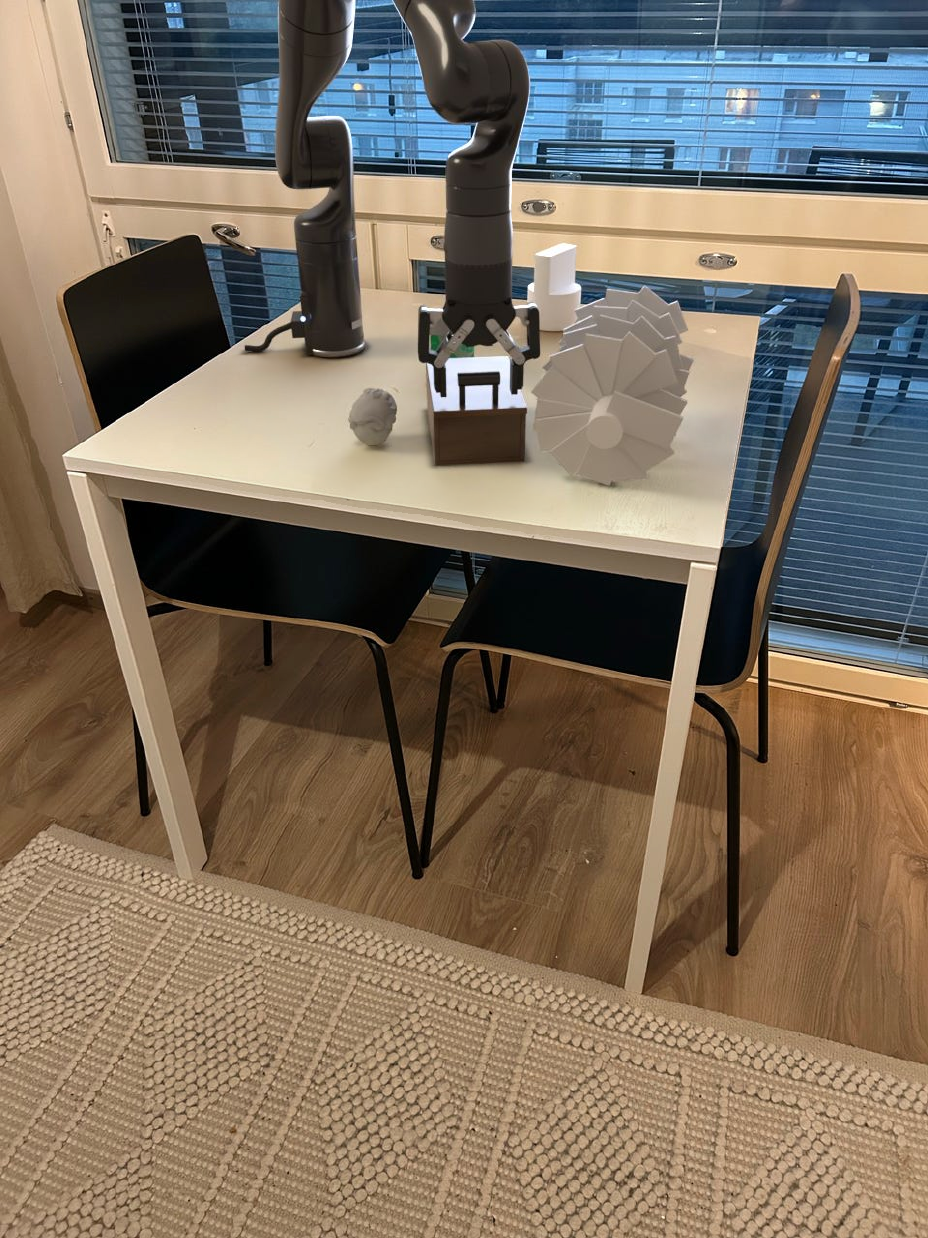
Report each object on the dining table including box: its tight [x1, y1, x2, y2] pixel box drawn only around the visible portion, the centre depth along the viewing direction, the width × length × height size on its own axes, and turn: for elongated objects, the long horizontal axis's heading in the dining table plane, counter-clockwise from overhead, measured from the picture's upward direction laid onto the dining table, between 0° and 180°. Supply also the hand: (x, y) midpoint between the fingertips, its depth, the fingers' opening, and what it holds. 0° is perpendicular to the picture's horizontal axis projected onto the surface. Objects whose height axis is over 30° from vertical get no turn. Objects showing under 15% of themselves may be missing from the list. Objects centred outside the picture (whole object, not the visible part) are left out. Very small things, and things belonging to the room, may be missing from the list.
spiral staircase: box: [530, 285, 695, 487], centre depth 113 cm, size 18×18×25 cm
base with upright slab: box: [526, 243, 582, 332], centre depth 157 cm, size 9×9×12 cm
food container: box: [429, 307, 475, 358], centre depth 138 cm, size 12×6×10 cm, turn 168°
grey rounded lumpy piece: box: [347, 387, 398, 446], centre depth 119 cm, size 6×7×7 cm
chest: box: [425, 367, 527, 466], centre depth 121 cm, size 17×11×7 cm, turn 5°
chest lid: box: [425, 355, 528, 418], centre depth 117 cm, size 18×11×5 cm, turn 5°
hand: (478, 393), depth 112 cm, fingers open, 8 cm apart
